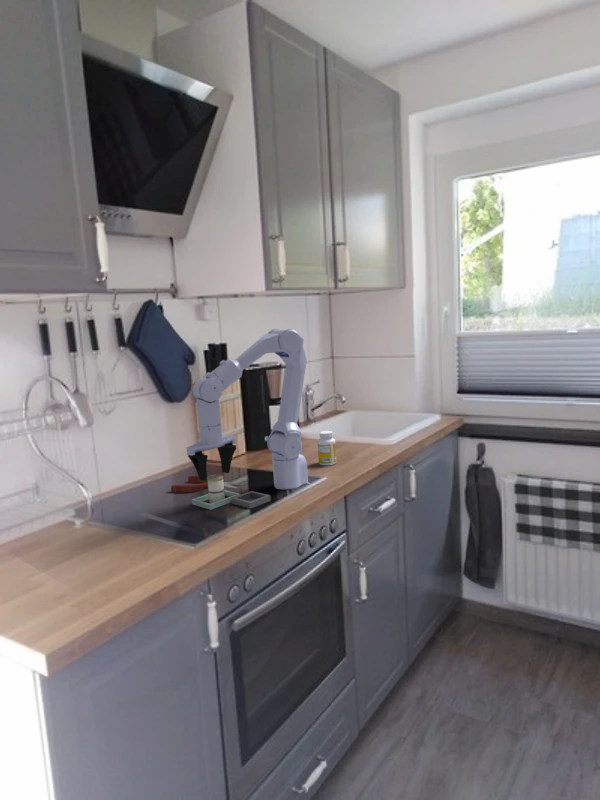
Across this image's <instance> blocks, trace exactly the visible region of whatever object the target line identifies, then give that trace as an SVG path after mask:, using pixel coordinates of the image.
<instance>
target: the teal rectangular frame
mask: <svg viewBox="0 0 600 800" xmlns="http://www.w3.org/2000/svg"><path fill="white" fill-rule="evenodd" d="M224 495H225V497H226V498H225V499H223V500H220V501H217V502H214V503H212V504H211V503H210V502H209V503H208V502H205V501H207V500H209V493H206V494H204V495H202V496H198V497H194V498H192V499H191V505H194V506H195V507H196V506H197V507H200V508H203V509H206V510H207V509H208V510H214V509H216V508H219V507H221V506H224V505H228V504H231V503H232V498H234V497H237V496H239V495H242V494H241V493H238V492H235V491H230V490H226V489H224Z"/></svg>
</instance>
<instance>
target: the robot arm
mask: <svg viewBox="0 0 600 800" xmlns="http://www.w3.org/2000/svg"><path fill="white" fill-rule="evenodd" d="M304 342H305V341H304V338H303V336H301V334H300V333H299V332H298V331H297V330H296V329H294V328H287V329H280V328H273V329H271V330H269V331H268V332H267V333H264V334H263V335H262V336H261V337H259V339H258V340H256V341H255V342H254V343H253V344H252V345H251V346H249V347H248V348H246V350H245V351H243V352H242V353H241V354H240V355H239V356H238V357H236V358H235V359H229V358H228V359H226V360H225V359H222V360H221V361H220V362H219V366H217V367H216V368H215V369H213V370H212V371H210V372H209V371H208V372H207V373H206V374H205V377H203V378H202V377H201V378H199V379H197V380H196V381H195V382H194V385H193V386H192V389H191V393H192V395H193V397H194V398H195V399H196V410H197V420H198V421H197V423H198V430H199V442H197V443H195V444H193V445H190V446H187V447H186V455H187V458H188V459H189V460H190V461H191V462H192V464H193V465H194V466H193V467H194V469H195V471H196V473H197V476H199V479H200V480H203V481H205V480H207V477H208V473H207V470H208V469H207V464H208V457H209V456H208V454H205V453H204V452H207V451H210V450H214V449H217V451H218V454H219V459H220V465H221V471H222V473H223V474H225V473H226V474H229V473H230V471H231V466H232V465H231V464H232V460H233V456H234V455H235V452H236V450H237V445H235V444H237V443H236V442H237V441H236V440H237V439H236V436H235V435H227V436H223V427H222V421H221V420H222V418H221V408H220V398H221V397H222V394H223V392H224V391H225V390H227V389H228V388H229V387H230V386H231V385H233V384H235V383H236V382H237V381H238V380H240V378H242V376H243V371H244V370H245V369H246V368H248V367H249V366H251V365H252V364H254V363H255V362H256V361H258V360H259V359H260V358H262V357H263V356H265V355H266V354H273V353H274V354H275V355H277V356H278V357H279V358H280V359H281V360H282V361H283V363H284V364H285V373H284V376H283V377H284V378H283V383H282V385H283V386H282V391H281V398H280V404H279V411H278V416H277V421H276V422H275V424H273V426H272V429H271V430H272V431H271V433H270V434H269V436H268V437H267V448H268V449H269V451H270V452H271V453H272V454H271V456H272V458H271V459H272V471H273V472H272V473H273V485H274V488H275V489H277V490H292V489H298V488H299V487H300V486H301V485H305V484H309V485H310V484H311V483H310V482H309V475H308V474H309V473H308V462H307V460H306V458H305V456H304V455H303V454H301V452H302V449H303V443H302V439H301V438H302V436H301V435H302V431H301V429H300V427H299V425H298V420H299V414H300V409H301V402H302V401H301V400H302V395H303V388H304V382H305V374H306V369H307V356H306V353H305V349H304Z"/></svg>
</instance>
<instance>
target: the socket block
mask: <svg viewBox="0 0 600 800" xmlns="http://www.w3.org/2000/svg"><path fill="white" fill-rule="evenodd" d="M269 502H271V495H270V494H265V493H262V492H257V491H253V490H251V491H248V492H246V493H242V494H241V495H239V496H237V497H234V498H232V502H231V504H233V505H237V506H240V507H242V508H243V507H244V508H246V509H247V508H248V509H253V508H256V507H259V506H261V505H264V504H266V503H269Z"/></svg>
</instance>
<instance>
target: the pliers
mask: <svg viewBox="0 0 600 800" xmlns="http://www.w3.org/2000/svg"><path fill="white" fill-rule="evenodd" d="M187 482H188V483H192V484H177V483H176V484H172V485H171V487H170V491H171V492H172V493H176V494H177V493H179V494H180V493H181V494H188V493H190V494H191V493H197V492H201V491H204V490H207V489H208V480H205V481H203V480H200V479H199V476H198V475H189V476H188V477H187ZM223 483H224V489H238V486H243V487H244V484H240V483H234V482H233V483H232V482H226V481H223Z"/></svg>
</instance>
